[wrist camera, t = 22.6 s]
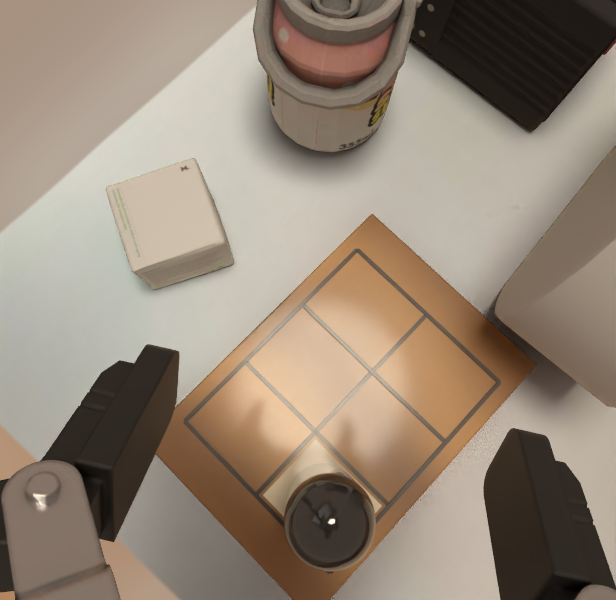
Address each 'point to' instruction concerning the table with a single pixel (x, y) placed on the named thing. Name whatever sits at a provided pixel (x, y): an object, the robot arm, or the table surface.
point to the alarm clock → (573, 288)
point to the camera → (518, 47)
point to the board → (342, 399)
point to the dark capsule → (328, 518)
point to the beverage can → (331, 65)
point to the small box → (169, 225)
